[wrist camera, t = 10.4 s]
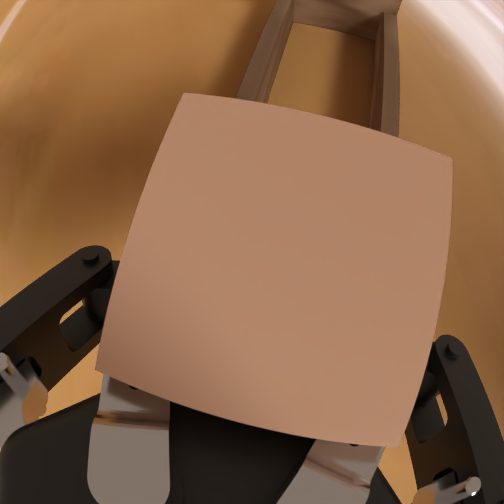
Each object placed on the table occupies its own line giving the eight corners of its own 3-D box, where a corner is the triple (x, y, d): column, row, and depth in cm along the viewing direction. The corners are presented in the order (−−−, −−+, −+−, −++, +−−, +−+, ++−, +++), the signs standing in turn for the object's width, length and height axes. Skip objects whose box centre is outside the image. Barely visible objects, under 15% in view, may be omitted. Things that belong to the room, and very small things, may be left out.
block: (326, 264, 18) (452, 158, 5) (305, 346, 18) (398, 447, 4) (244, 244, 19) (184, 92, 5) (222, 325, 18) (94, 369, 4)
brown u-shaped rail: (385, 37, 23) (403, -14, 16) (377, 185, 21) (415, 137, 14) (283, 13, 24) (283, -40, 17) (234, 151, 22) (219, 91, 15)
